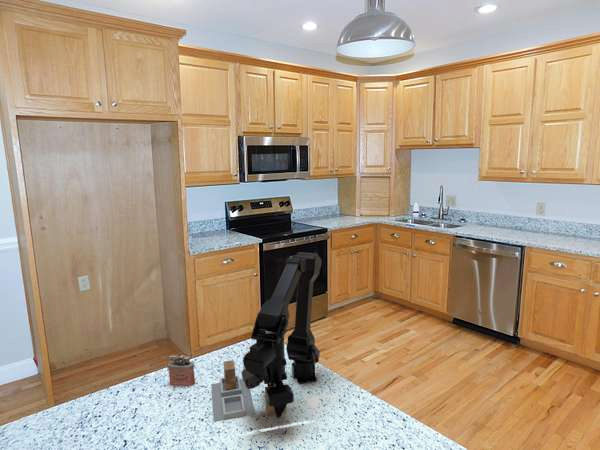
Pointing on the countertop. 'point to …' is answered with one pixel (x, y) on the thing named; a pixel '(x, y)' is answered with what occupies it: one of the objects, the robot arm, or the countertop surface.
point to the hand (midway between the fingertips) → (275, 408)
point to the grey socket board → (231, 401)
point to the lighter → (181, 371)
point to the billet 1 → (229, 375)
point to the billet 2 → (269, 409)
